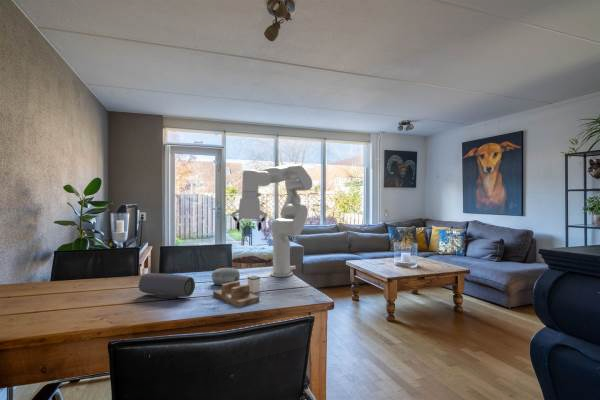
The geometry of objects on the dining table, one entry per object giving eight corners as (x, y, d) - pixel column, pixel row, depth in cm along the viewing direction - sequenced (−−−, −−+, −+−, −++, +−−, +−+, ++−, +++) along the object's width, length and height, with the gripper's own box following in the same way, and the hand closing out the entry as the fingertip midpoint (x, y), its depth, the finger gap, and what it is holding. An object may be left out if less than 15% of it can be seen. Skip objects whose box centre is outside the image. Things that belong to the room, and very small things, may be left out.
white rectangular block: (254, 289, 150) (254, 275, 150) (259, 291, 148) (260, 277, 147) (247, 291, 148) (247, 277, 147) (252, 293, 145) (252, 278, 145)
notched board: (232, 291, 147) (232, 278, 147) (259, 301, 133) (259, 287, 133) (213, 295, 140) (213, 282, 140) (239, 307, 126) (239, 292, 126)
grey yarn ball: (242, 274, 165) (236, 260, 161) (241, 287, 157) (235, 272, 152) (217, 280, 165) (210, 266, 161) (214, 293, 157) (207, 279, 152)
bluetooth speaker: (195, 296, 140) (196, 273, 140) (182, 302, 131) (182, 278, 131) (152, 291, 146) (152, 270, 146) (137, 297, 137) (137, 274, 137)
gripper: (267, 196, 158) (266, 230, 158) (232, 195, 156) (231, 230, 155) (268, 195, 151) (267, 231, 151) (231, 194, 148) (230, 231, 148)
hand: (248, 230), depth 153 cm, fingers open, 9 cm apart
